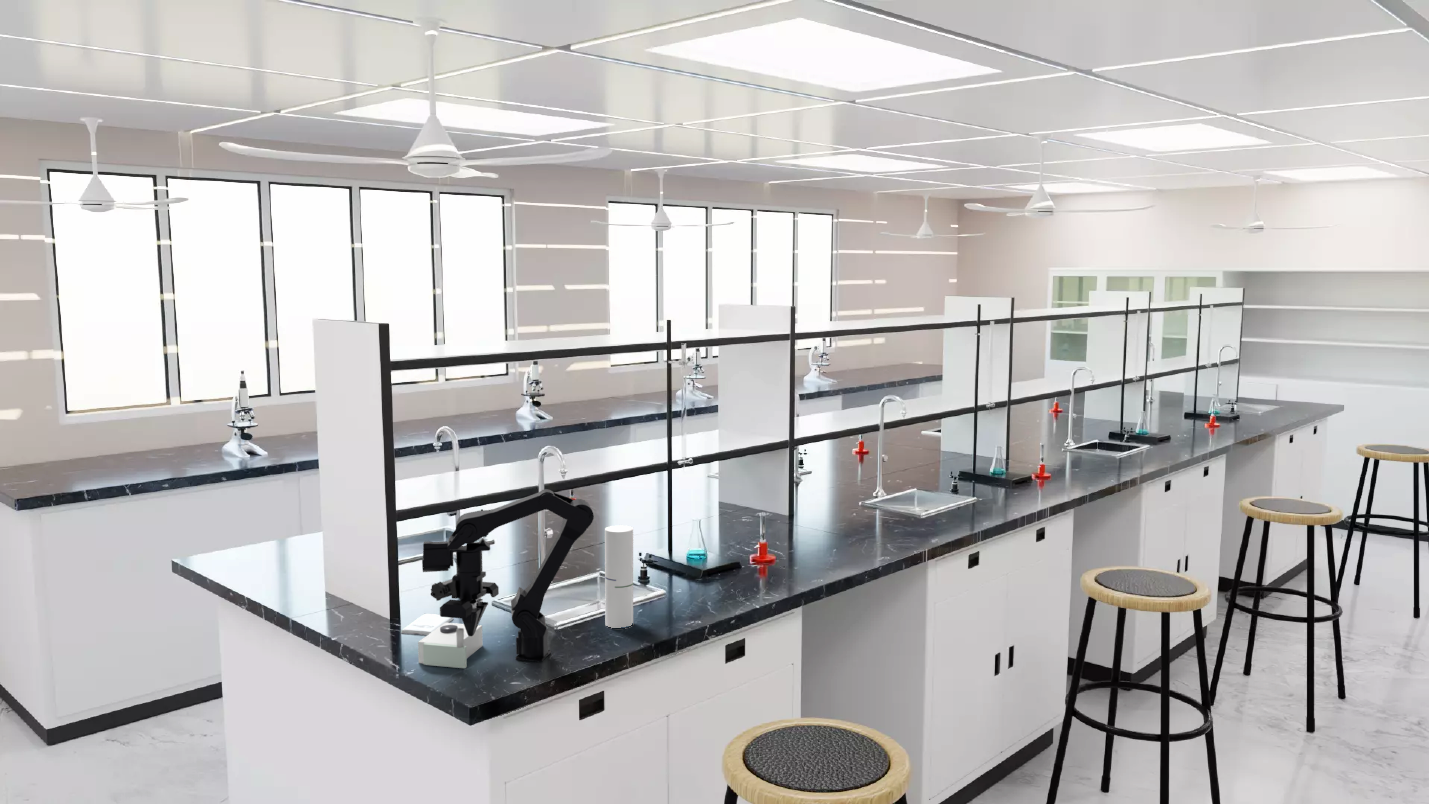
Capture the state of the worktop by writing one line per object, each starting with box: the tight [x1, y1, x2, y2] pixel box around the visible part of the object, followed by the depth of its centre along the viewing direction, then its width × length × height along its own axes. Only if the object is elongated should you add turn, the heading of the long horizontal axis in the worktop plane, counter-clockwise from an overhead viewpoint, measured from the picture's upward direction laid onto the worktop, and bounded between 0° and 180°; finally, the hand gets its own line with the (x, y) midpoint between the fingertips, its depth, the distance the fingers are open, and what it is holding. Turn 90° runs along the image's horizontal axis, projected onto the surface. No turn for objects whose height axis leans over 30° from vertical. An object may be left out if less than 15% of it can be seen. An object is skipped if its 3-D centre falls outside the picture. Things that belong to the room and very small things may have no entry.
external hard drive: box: [400, 613, 454, 636], centre depth 255 cm, size 2×8×12 cm
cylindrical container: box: [604, 524, 634, 629], centre depth 256 cm, size 7×7×25 cm
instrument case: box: [417, 622, 484, 664], centre depth 235 cm, size 10×14×6 cm
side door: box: [423, 628, 468, 669], centre depth 227 cm, size 10×2×9 cm, turn 79°
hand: (470, 635), depth 231 cm, fingers closed
